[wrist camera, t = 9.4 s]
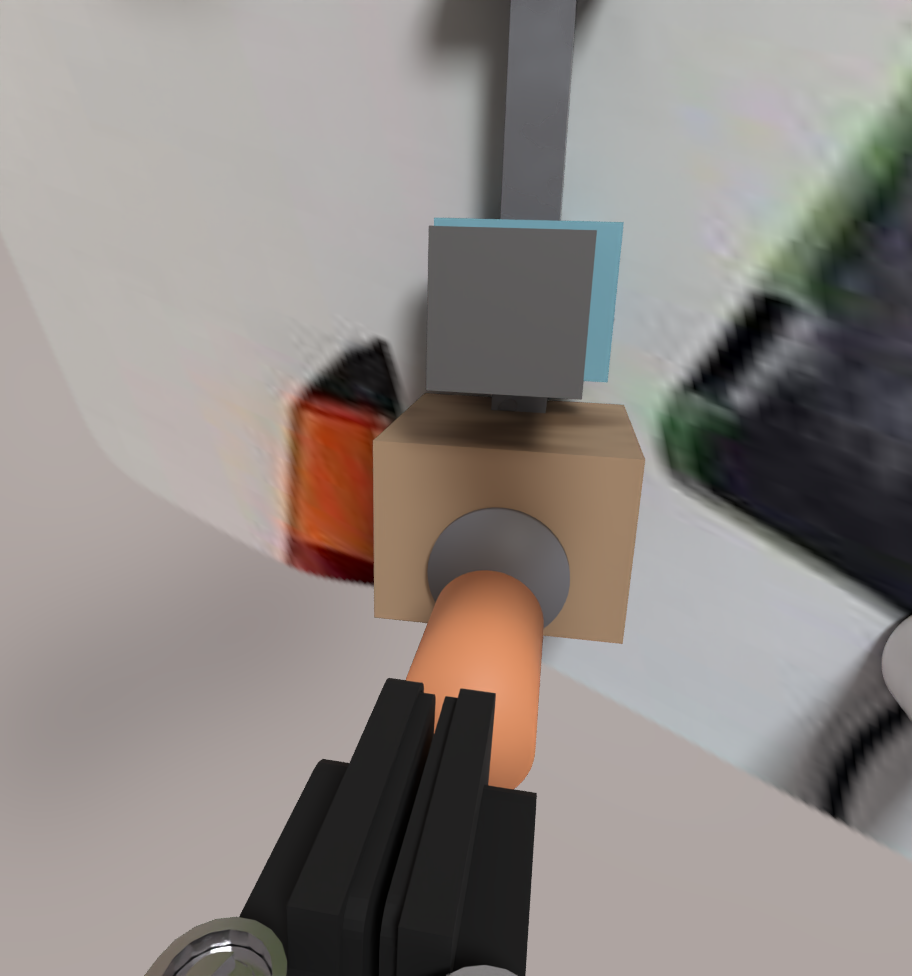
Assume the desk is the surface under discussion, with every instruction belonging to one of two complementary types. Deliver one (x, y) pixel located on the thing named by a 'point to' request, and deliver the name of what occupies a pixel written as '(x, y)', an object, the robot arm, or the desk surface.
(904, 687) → the drinking glass
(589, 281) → the carriage
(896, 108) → the desk surface
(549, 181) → the rail
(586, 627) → the tan box
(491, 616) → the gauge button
